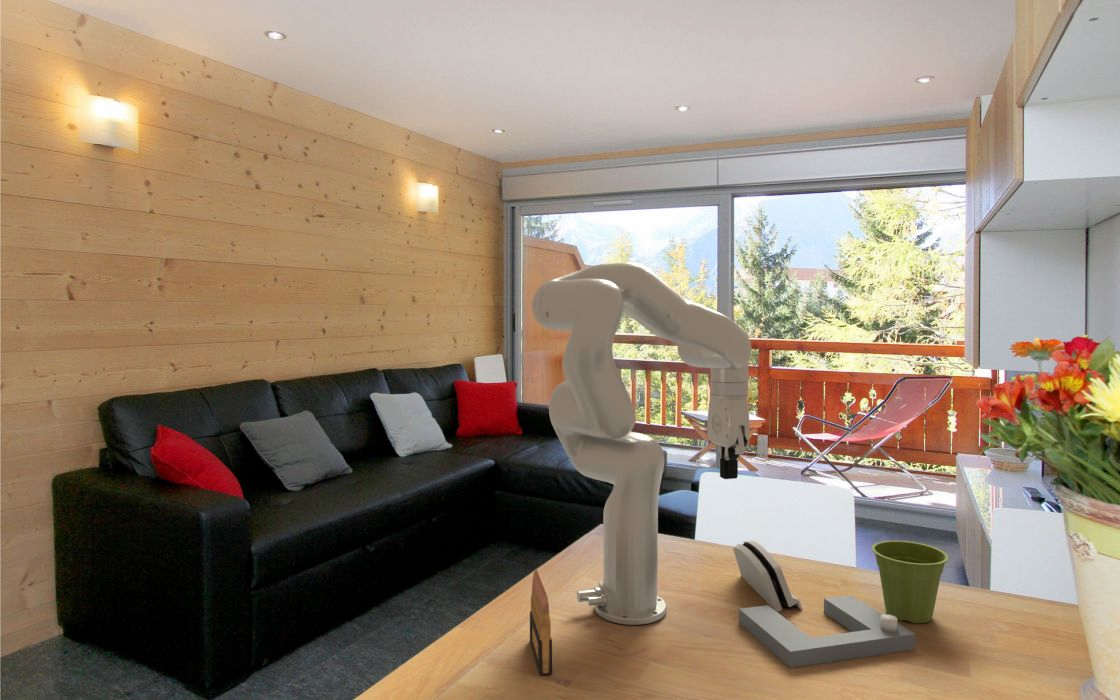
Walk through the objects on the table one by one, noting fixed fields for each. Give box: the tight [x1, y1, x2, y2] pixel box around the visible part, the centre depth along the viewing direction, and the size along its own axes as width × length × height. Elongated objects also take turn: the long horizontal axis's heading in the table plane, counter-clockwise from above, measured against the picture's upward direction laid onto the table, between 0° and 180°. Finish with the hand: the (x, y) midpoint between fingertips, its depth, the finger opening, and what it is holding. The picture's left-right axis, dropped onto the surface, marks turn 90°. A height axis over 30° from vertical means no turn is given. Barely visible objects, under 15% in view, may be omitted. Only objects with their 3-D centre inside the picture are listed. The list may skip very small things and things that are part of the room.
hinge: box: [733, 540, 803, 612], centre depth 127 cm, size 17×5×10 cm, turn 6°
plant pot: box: [871, 540, 949, 624], centre depth 117 cm, size 12×12×11 cm
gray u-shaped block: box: [738, 594, 916, 669], centre depth 110 cm, size 22×15×4 cm
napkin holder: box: [529, 569, 553, 676], centre depth 103 cm, size 11×2×12 cm, turn 10°
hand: (728, 477), depth 140 cm, fingers closed
